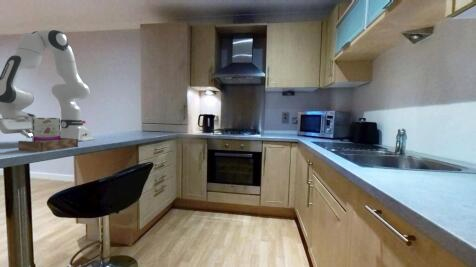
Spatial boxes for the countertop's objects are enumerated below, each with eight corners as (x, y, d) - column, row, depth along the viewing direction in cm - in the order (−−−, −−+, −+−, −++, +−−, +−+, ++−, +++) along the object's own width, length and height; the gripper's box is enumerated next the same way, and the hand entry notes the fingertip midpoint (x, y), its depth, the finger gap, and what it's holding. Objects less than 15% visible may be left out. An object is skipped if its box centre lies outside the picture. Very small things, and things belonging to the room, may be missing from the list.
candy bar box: (58, 147, 130) (58, 117, 129) (60, 148, 127) (60, 118, 125) (31, 149, 121) (31, 117, 120) (33, 150, 118) (33, 117, 117)
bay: (58, 145, 138) (58, 137, 138) (77, 146, 136) (77, 138, 136) (18, 149, 117) (18, 140, 117) (40, 151, 115) (40, 142, 115)
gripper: (-4, 114, 119) (13, 134, 118) (37, 114, 139) (52, 132, 138) (-11, 122, 120) (6, 143, 119) (31, 121, 140) (45, 139, 139)
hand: (31, 137), depth 129 cm, fingers closed
